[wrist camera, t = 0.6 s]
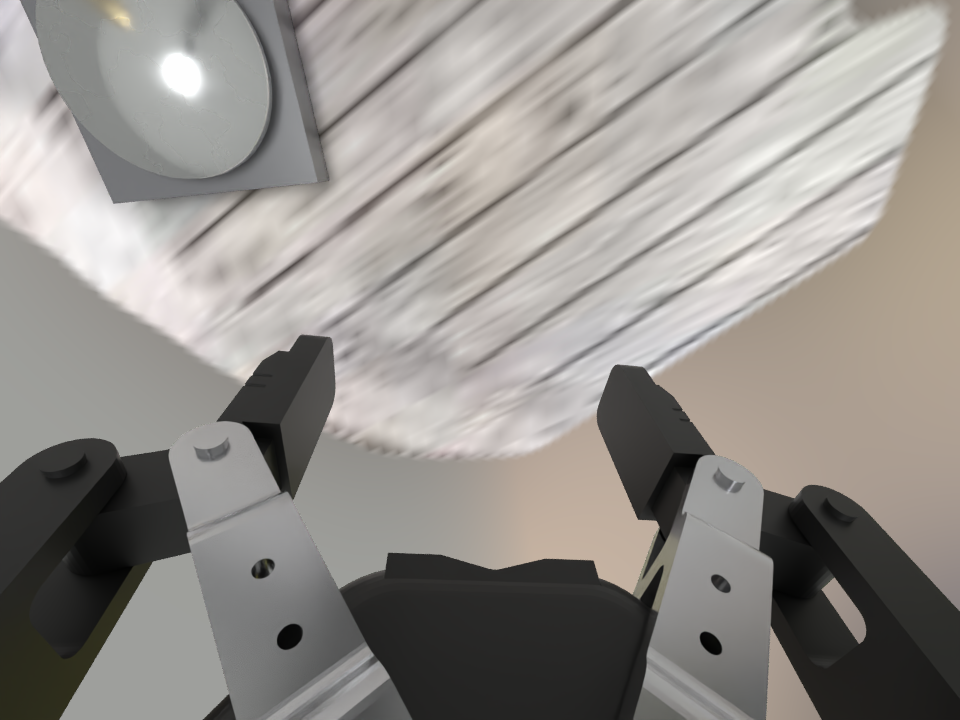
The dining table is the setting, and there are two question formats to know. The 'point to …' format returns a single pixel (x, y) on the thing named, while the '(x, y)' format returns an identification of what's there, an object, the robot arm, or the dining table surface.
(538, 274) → the dining table surface
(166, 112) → the scale pan
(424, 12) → the dining table surface
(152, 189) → the base
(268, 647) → the robot arm
